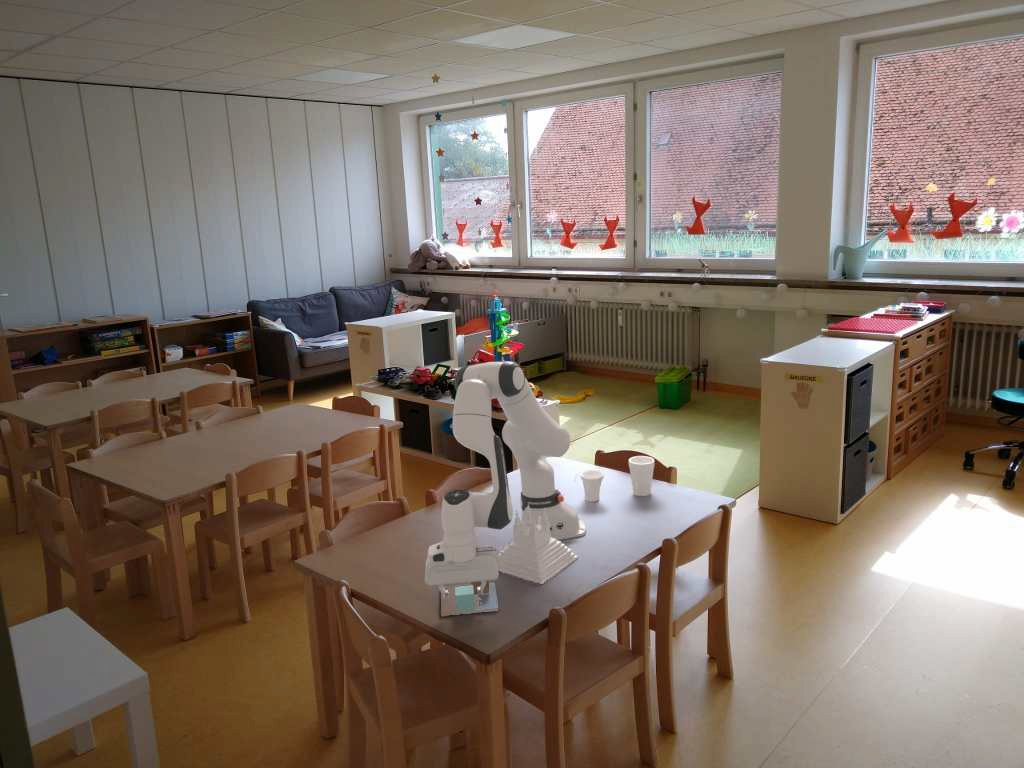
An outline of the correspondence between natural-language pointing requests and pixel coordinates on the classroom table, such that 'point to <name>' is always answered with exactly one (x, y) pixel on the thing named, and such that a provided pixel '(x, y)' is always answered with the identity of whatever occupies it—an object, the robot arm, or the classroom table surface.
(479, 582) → the walnut cube
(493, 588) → the building board
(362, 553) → the classroom table surface
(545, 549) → the castle model
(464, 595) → the teal cube
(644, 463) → the foam cup
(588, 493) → the cup
